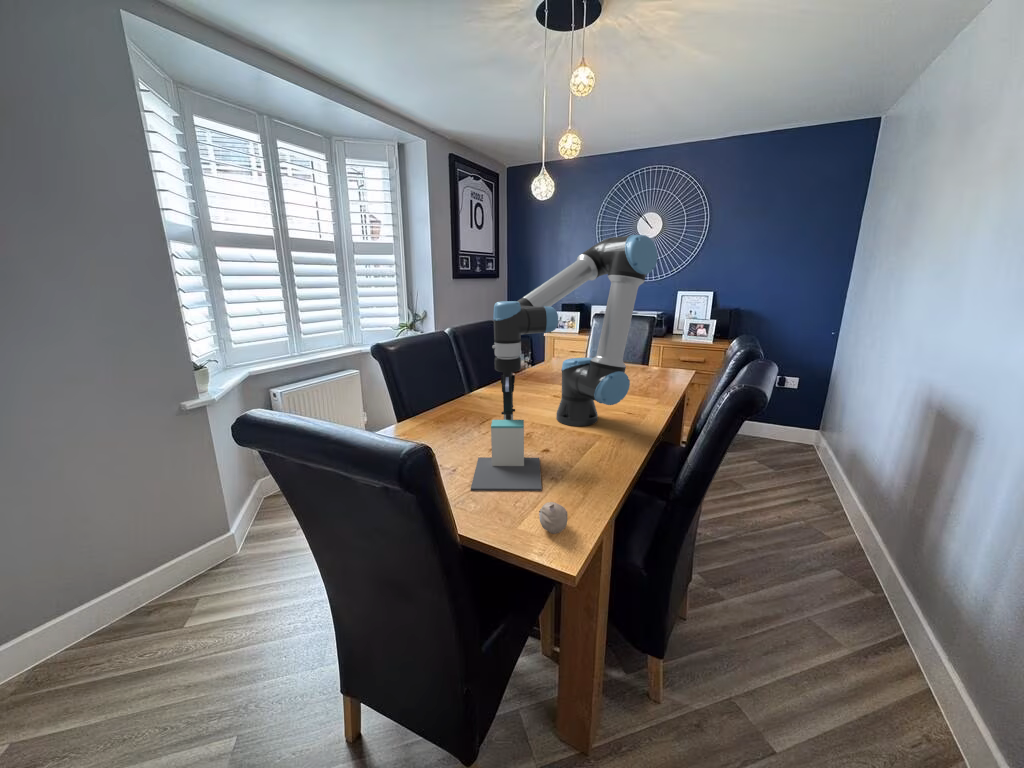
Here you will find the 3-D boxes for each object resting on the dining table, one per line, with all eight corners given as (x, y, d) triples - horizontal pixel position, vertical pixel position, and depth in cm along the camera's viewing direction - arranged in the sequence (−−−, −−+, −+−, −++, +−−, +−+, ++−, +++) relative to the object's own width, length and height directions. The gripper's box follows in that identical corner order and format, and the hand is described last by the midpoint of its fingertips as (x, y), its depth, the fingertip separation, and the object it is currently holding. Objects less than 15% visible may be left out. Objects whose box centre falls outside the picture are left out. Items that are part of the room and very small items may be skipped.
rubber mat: (539, 459, 122) (539, 457, 121) (541, 490, 104) (541, 488, 104) (478, 459, 122) (478, 457, 122) (470, 490, 105) (470, 488, 105)
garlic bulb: (532, 530, 89) (532, 497, 86) (550, 517, 93) (550, 485, 91) (557, 543, 84) (558, 508, 82) (574, 528, 89) (575, 495, 87)
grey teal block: (524, 458, 121) (523, 419, 118) (523, 466, 116) (523, 426, 113) (493, 458, 121) (492, 419, 118) (492, 465, 117) (490, 426, 113)
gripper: (496, 352, 124) (497, 425, 131) (492, 361, 112) (494, 442, 118) (521, 352, 124) (521, 425, 130) (520, 361, 111) (520, 442, 118)
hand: (508, 433), depth 124 cm, fingers closed
